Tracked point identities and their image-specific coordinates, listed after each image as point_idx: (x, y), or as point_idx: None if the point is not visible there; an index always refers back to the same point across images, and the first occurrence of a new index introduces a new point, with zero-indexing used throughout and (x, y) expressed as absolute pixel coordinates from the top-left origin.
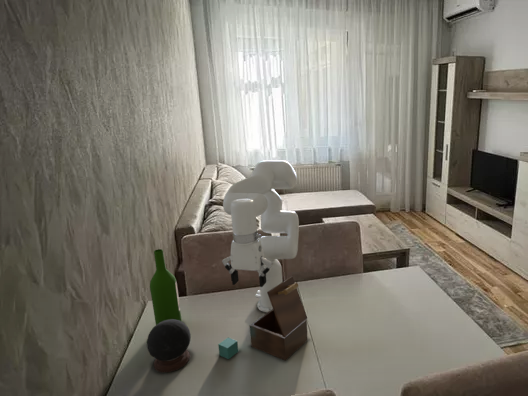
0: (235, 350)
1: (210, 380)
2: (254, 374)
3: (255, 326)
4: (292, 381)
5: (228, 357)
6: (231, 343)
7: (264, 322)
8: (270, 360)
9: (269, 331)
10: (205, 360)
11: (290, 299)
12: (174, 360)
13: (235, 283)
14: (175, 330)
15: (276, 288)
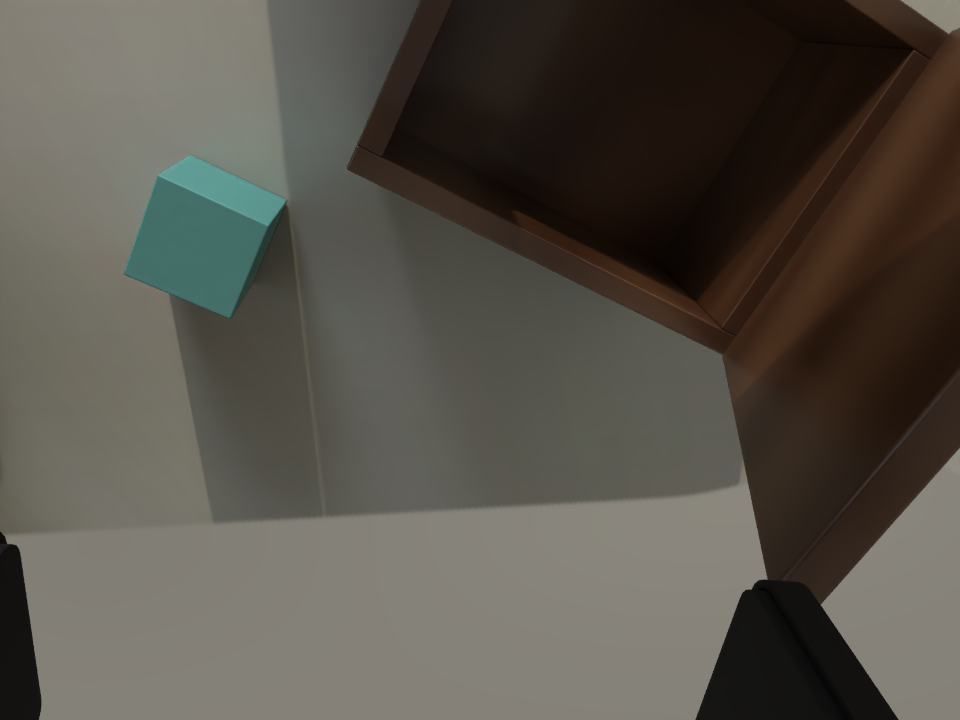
0: (272, 231)
1: (232, 463)
2: (482, 406)
3: (418, 189)
4: (715, 444)
5: (249, 288)
6: (233, 261)
7: None
8: (555, 281)
9: (580, 267)
10: (87, 300)
11: None
12: None
13: (33, 692)
14: None
15: (948, 437)
